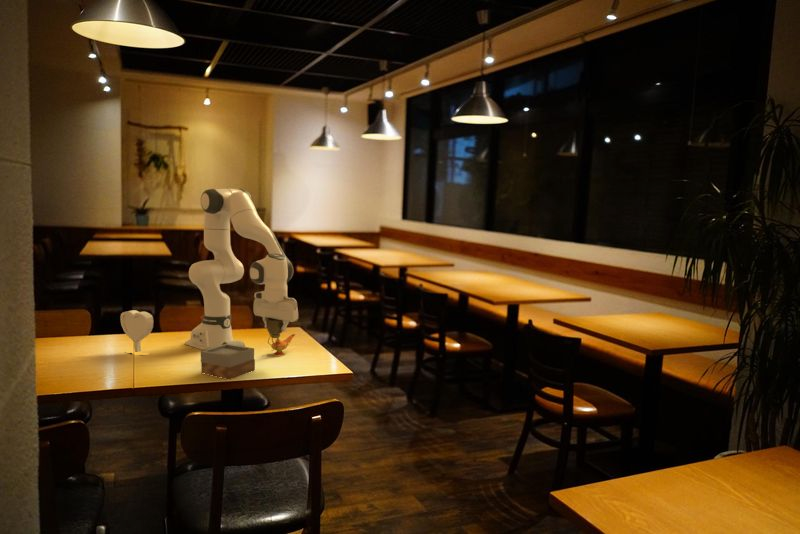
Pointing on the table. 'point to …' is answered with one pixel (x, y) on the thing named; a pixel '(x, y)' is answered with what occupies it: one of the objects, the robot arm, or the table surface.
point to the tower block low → (228, 369)
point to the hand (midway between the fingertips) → (275, 329)
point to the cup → (274, 327)
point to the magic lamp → (280, 344)
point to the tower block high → (227, 355)
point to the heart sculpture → (137, 326)
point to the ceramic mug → (234, 343)
